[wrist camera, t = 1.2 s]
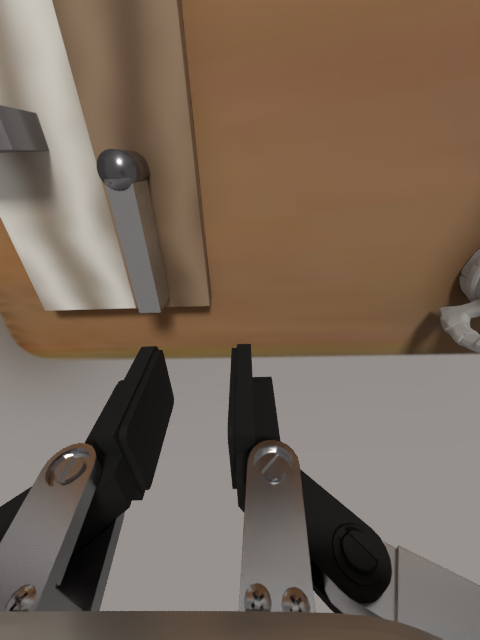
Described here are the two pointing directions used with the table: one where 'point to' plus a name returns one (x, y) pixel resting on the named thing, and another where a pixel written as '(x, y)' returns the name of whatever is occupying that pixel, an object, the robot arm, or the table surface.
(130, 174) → the bar
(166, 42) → the door board
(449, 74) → the table surface
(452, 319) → the mug
